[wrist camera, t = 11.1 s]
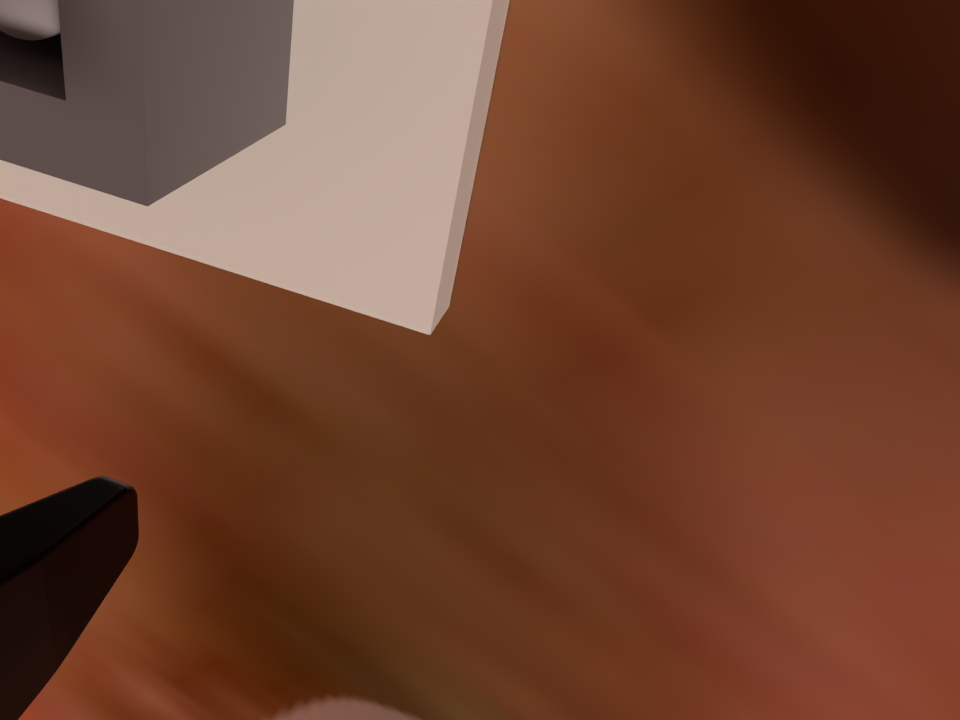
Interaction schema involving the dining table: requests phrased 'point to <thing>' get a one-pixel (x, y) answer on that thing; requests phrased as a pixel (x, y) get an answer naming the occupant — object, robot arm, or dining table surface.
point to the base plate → (327, 160)
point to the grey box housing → (144, 91)
